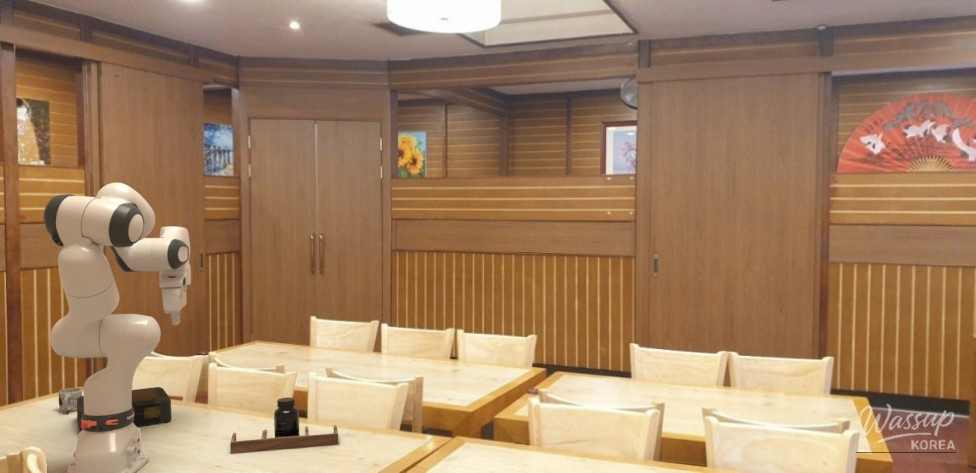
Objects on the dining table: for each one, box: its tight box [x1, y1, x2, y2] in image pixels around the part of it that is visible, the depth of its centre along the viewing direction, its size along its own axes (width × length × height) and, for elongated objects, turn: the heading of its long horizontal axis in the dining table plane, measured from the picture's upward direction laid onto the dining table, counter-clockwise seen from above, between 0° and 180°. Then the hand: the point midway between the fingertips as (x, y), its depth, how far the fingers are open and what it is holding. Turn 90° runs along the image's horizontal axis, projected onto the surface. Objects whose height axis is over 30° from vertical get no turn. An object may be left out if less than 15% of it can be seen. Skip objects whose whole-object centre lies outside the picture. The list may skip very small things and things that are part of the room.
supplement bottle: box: [273, 397, 300, 438], centre depth 209 cm, size 7×7×12 cm
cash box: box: [76, 386, 172, 433], centre depth 230 cm, size 25×20×8 cm
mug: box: [58, 387, 83, 414], centre depth 241 cm, size 10×7×7 cm, turn 17°
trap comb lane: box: [229, 424, 339, 455], centre depth 211 cm, size 18×29×3 cm, turn 105°
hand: (176, 324), depth 223 cm, fingers closed
